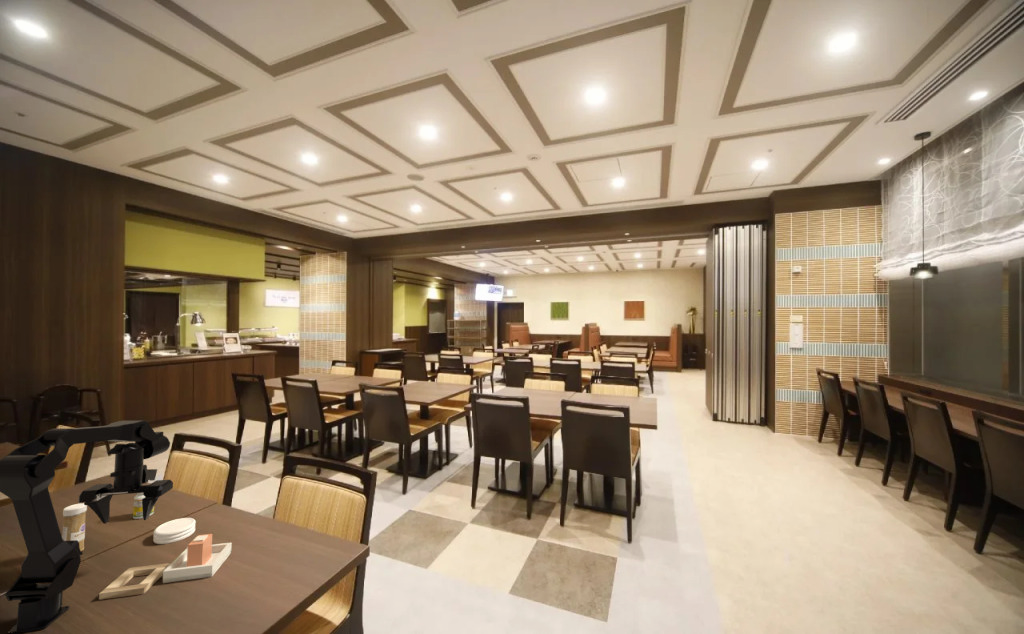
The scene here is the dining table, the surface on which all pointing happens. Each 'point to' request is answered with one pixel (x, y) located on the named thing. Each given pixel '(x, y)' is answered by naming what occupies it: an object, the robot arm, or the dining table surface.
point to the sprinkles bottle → (74, 523)
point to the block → (199, 550)
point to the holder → (120, 590)
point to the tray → (182, 572)
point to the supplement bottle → (139, 506)
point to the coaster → (174, 530)
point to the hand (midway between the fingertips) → (126, 521)
